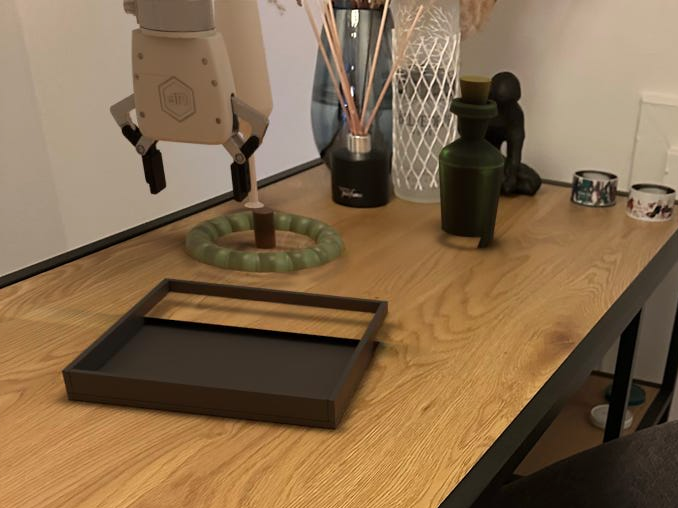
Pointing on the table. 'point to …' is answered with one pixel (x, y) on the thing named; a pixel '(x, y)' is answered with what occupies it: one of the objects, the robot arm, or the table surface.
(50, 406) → the table surface
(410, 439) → the table surface
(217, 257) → the ring
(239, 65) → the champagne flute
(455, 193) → the potion bottle
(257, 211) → the post
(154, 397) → the tray
